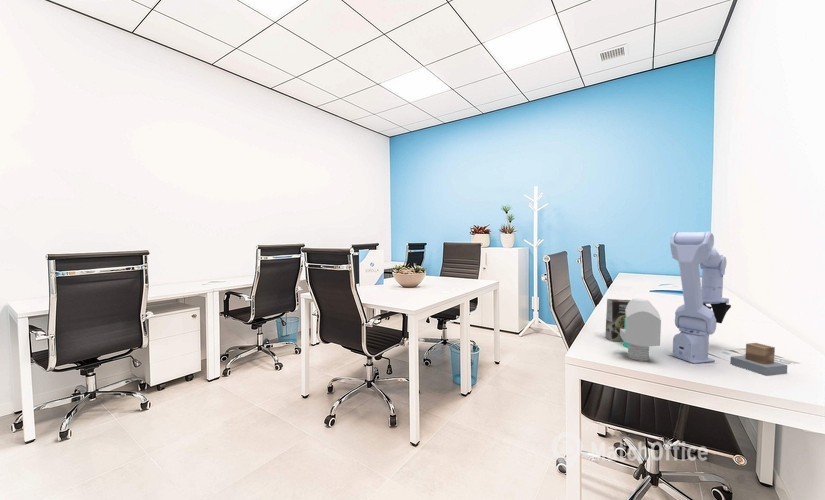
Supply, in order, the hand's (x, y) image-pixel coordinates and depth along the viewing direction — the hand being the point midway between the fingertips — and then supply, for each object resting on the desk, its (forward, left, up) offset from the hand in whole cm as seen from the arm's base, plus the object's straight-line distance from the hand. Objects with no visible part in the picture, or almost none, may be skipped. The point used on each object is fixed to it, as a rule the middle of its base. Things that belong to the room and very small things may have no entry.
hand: (710, 323), depth 119 cm
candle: (-26, +8, -10) cm, 29 cm away
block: (-5, -17, -7) cm, 19 cm away
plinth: (-5, -17, -10) cm, 20 cm away
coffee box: (-23, +16, -10) cm, 30 cm away
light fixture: (-35, -2, -10) cm, 36 cm away
